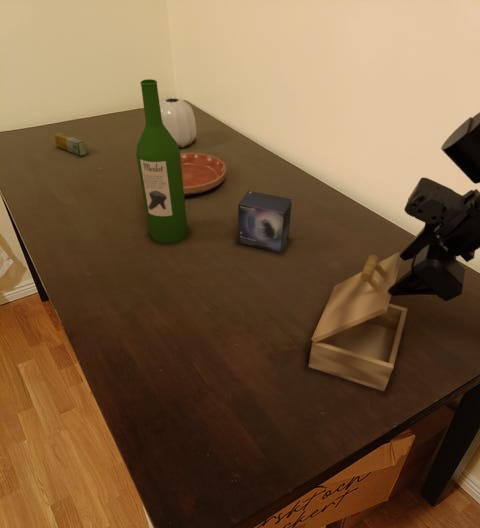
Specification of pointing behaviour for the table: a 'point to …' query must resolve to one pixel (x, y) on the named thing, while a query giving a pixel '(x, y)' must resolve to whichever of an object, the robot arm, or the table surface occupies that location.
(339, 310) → the chest lid
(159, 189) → the wine bottle
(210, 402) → the table surface
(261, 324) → the table surface
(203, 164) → the saucer
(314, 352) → the chest
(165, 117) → the vase
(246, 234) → the small box
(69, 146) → the medication box
